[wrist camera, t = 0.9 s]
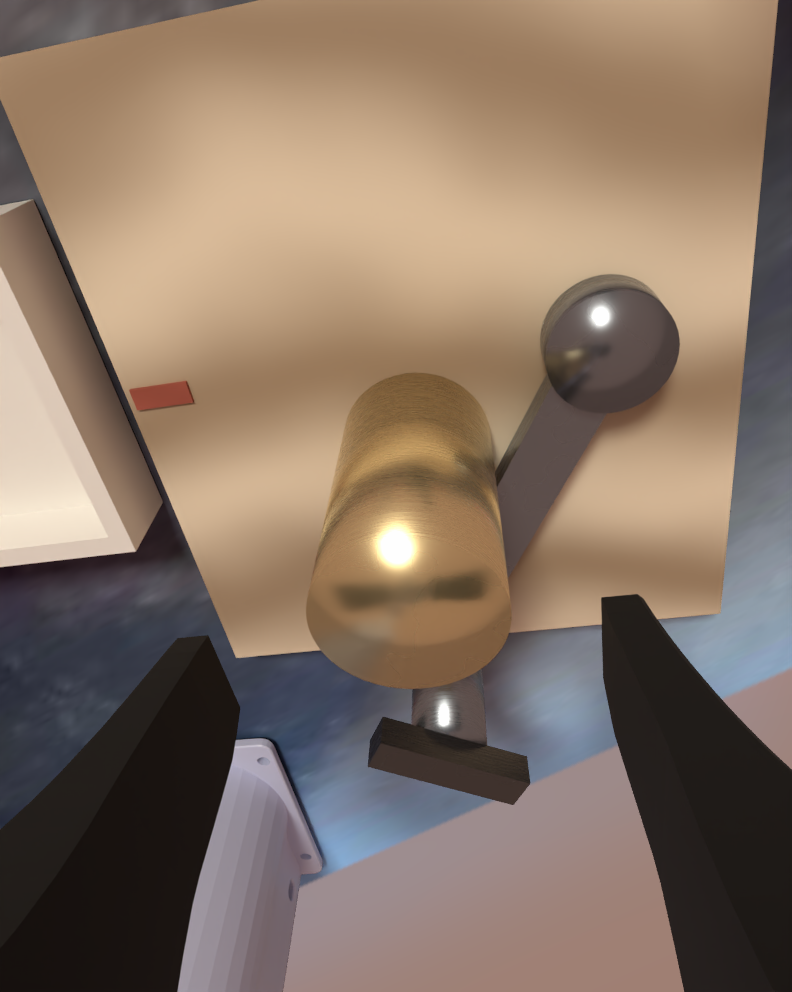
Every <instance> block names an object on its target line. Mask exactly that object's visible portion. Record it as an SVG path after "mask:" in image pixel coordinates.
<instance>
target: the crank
mask: <svg viewBox="0 0 792 992" xmlns="http://www.w3.org/2000/svg"><path fill="white" fill-rule="evenodd" d="M540 348H541V353H542V357H543V360H544V364H545V367H546V370H547V374H546V376H545V378H544V380H543V382H542V384H541V385H540V387H539V389H538V391H537V393H536V395H535V397H534V399H533V401H532V403H531V404H530V406H529V408H528V410H527V412H526V414H525V416H524V418H523V420H522V421H521V423H520V425H519V427H518V429H517V431H516V433H515V435H514V437H513V439H512V440H511V442H510V444H509V446H508V448H507V450H506V452H505V454H504V456H503V458H502V459H501V461H500V463H499V465H498V467H497V469H496V471H495V476H496V485H497V493H498V501H499V510H500V518H501V526H502V535H503V543H504V551H505V560H506V568H507V576H508V578H509V576H510V574H511V573H512V571H513V569H514V568H515V566H516V564H517V563H518V561H519V559H520V558H521V556H522V554H523V553H524V551H525V549H526V548H527V546H528V544H529V543H530V541H531V539H532V538H533V536H534V534H535V533H536V531H537V529H538V528H539V526H540V524H541V523H542V521H543V519H544V518H545V516H546V514H547V513H548V511H549V509H550V508H551V506H552V504H553V503H554V501H555V499H556V498H557V496H558V494H559V493H560V491H561V489H562V488H563V486H564V484H565V483H566V481H567V479H568V478H569V476H570V474H571V473H572V471H573V469H574V468H575V466H576V464H577V463H578V461H579V459H580V458H581V456H582V454H583V453H584V451H585V449H586V448H587V446H588V444H589V443H590V441H591V439H592V438H593V436H594V434H595V433H596V431H597V429H598V428H599V426H600V424H601V423H602V421H603V419H604V418H605V416H606V414H607V413H615V412H621V411H624V410H628V409H630V408H633V407H635V406H637V405H639V404H641V403H643V402H645V401H646V400H648V399H649V398H650V397H652V396H653V395H654V394H655V393H656V392H658V391H659V390H660V389H661V387H662V386H663V385H664V384H665V383H666V381H667V380H668V379H669V377H670V375H671V374H672V372H673V370H674V368H675V365H676V363H677V359H678V355H679V348H680V338H679V332H678V329H677V326H676V323H675V321H674V319H673V317H672V315H671V314H670V313H669V311H668V310H667V309H666V307H665V306H664V305H663V303H662V302H661V301H660V299H659V298H658V297H657V295H656V294H655V293H654V291H652V290H651V289H650V288H649V287H648V286H647V285H645V284H644V283H643V282H641V281H639V280H637V279H635V278H632V277H629V276H625V275H619V274H606V275H598V276H594V277H590V278H588V279H585V280H583V281H580V282H578V283H576V284H575V285H573V286H572V287H570V288H569V289H567V290H566V291H565V292H564V293H562V294H561V295H560V296H559V297H558V299H557V300H556V301H555V302H554V303H553V305H552V306H551V307H550V309H549V311H548V312H547V314H546V317H545V319H544V321H543V324H542V328H541V334H540ZM368 767H371V768H375V769H379V770H383V771H386V772H390V773H394V774H398V775H401V776H405V777H409V778H413V779H417V780H420V781H424V782H428V783H432V784H436V785H439V786H443V787H447V788H451V789H454V790H458V791H462V792H466V793H470V794H473V795H477V796H481V797H485V798H489V799H492V800H496V801H500V802H504V803H508V804H511V805H513V804H514V803H515V802H516V801H517V800H518V798H519V797H520V796H521V795H522V793H523V792H524V791H525V790H526V788H527V787H528V786H529V785H530V778H529V770H528V761H527V756H523V755H520V754H516V753H512V752H509V751H505V750H501V749H498V748H494V747H491V746H487V737H486V721H485V706H484V691H483V676H482V669H480V670H479V671H477V672H475V673H474V674H472V675H470V676H468V677H466V678H464V679H461V680H459V681H456V682H453V683H450V684H447V685H442V686H438V687H431V688H421V689H413V694H412V721H411V724H407V723H404V722H400V721H396V720H393V719H389V718H386V717H383V718H382V719H381V721H380V723H379V725H378V727H377V729H376V730H375V732H374V734H373V736H372V738H371V740H370V748H369V759H368Z"/></svg>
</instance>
